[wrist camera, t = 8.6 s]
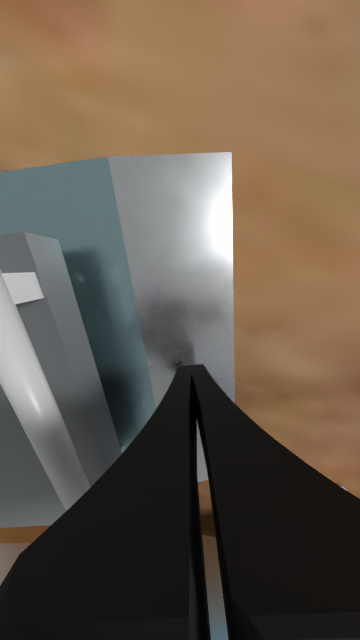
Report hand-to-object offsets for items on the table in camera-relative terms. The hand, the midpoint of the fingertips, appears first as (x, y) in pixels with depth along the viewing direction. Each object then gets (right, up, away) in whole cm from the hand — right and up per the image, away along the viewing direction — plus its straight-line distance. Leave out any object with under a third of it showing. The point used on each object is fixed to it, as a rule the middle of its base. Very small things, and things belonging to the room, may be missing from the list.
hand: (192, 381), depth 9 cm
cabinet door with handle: (-9, -1, +1) cm, 9 cm away
